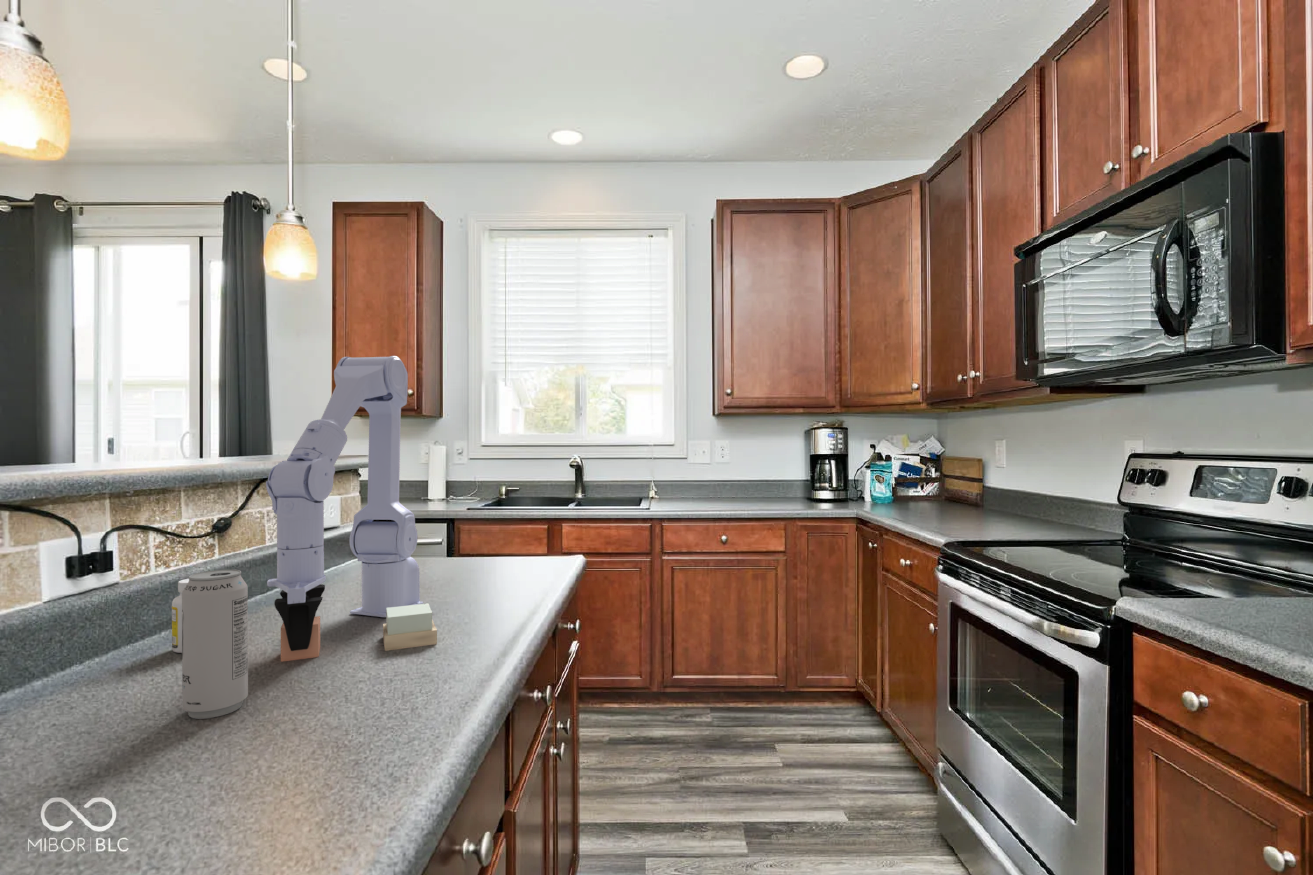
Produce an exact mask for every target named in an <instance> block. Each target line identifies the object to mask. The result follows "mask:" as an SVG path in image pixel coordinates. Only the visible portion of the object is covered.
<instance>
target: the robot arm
mask: <svg viewBox="0 0 1313 875" xmlns="http://www.w3.org/2000/svg"><path fill="white" fill-rule="evenodd" d="M333 377H334V379H333V380H334V384H335V387H334V389H333V391H332V394H331V397H330V398H329V401H328V402H327V405H326V407H325V409H324V411H323V414H322V416H321V418H320V419H315V420H314V419H313V420H312V421H310V422H309V423H308V425H306V428H305V429H304V431H303V433H302V434H301V436H300V438H299V439H298V441H297V443H296V445H294V448H293V449H292V451H291V452H290V454H289V456H288V457H287V460H282V461H280V462H278V463H277V464H275V465H274V466H273V467H272V468H271V470H270V471H269V473H268V478H267V480H266V481H265V487H266V491H267V493H268V494H267V495H268V496H269V498H270V499H271V505H272V508H271V509H272V511H273V513H274V514H275V515H276V564H277V565H276V570H277V571H276V575H277V576H276V578H270V579H268V580H267V581H266V586H267V587H269V588H270V587H276V588H278V589H280V590H281V591H280V592H279V595H280V598H275V599H274V602H273V603H274V608H275V609H276V611H277V612H278V614H279V616H280V618H281V620H282V624H283V623H284V626H285V630H286V634H287V639H288V643H289V647H290V649H291V651H295V650H303V649H308V647H309V644H310V639H311V634H312V627H313V621H314V617H316V614H317V611H318V609H319V607H320V605H321V602H322V601H323V598H324V597H323V593H324V592H325V591H326V590H325V589H326V585H325V583H326V577H327V576H326V575H325V554H324V553H325V545H324V544H325V536H324V535H325V529H324V527H325V526H324V524H325V523H324V522H325V521H324V520H325V519H324V517H325V516H324V515H325V514H324V510H325V508H324V505H325V504H324V503H325V502H324V501H325V500H326V499H327V498H328V497H329V496H330V494H331V493H332V491H333V487H334V475H335V473H336V467H335V464H336V462H337V461H338V459H339V457H340V455H341V453H342V451H343V450H344V447H345V445H346V444H347V441H348V434H347V432H346V431H345V429H346V427H347V426H348V424H349V423H350V421H351V420H352V419H353V417H354V416H355V414H356V413H357V411H358V410H359V408H360V407H361V408H364V409H365V410H366V412H367V413H368V415H369V417H368V418H369V420H368V421H369V423H368V458H367V459H368V462H367V463H368V464H367V465H368V466H367V468H368V470H367V504H366V505H365V506H364V507H362V508H361V509H360V510H359V511H358V512H356V513H355V514H354V516H353V524H352V529H351V531H350V534H349V548H350V550H351V553H352V554H353V555H354V556H355V557H356V558H357V562H361V607H358V608H355V609H352V610H349V614H351V615H360V616H361V615H362V616H369V617H370V616H371V617H380V618H386V608H389V607H398V606H408V605H418V604H425V603H424V601H421V599H420V597H421V595H420V593H421V591H420V590H421V589H420V588H421V587H420V583H421V580H420V579H421V578H420V574H421V573H420V567H419V564H418V562H417V561H416V559H415V558H414V557H412V556H411V555H412V554H414V552H415V550H416V548H417V545H418V536H419V535H418V530H417V527H416V518H415V514H414V512H412V511H411V509H408V508H407V507H405V506H404V505H403V504H402V503H400V478H401V477H400V474H401V472H400V470H401V469H400V468H401V467H400V466H401V464H400V463H401V461H400V460H401V426H402V425H401V422H402V419H401V418H402V417H401V415H402V414H401V413H402V408H403V407H404V406H406V405H407V404H408V382H409V381H408V380H409V375H408V370H407V368H406V365H405V364H404V362H403V361H402V359H401V358H400V357H399V356H397V355H391V356H374V357H372V356H371V357H370V356H366V357H364V356H363V357H352V356H351V357H350V356H343V357H342V358H340V359H339V360H338V362H337V364H336V367H335V369H334V370H333ZM374 520H376V521H374ZM379 520H386V521H379ZM388 520H389V521H388ZM390 520H391V521H390Z"/></svg>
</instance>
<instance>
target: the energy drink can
mask: <svg viewBox="0 0 1313 875" xmlns="http://www.w3.org/2000/svg"><path fill="white" fill-rule="evenodd" d="M241 574H242V571H241V570H239V569H217V570H207V571H202V572H201V571H200V572H196V573H193V574H190V575H189V576H188V579H189V582H188V584H187V585H186V587H185V588H184V590H183V592H182V653H181V659H182V660H181V672H182V673H181V678H182V680H181V682H182V683H181V690H182V691H181V692H182V694H181V699H182V700H181V705H182V706H181V707H182V710H184V711H185V712H187V713H188V717H190V718H192V719H197V720H198V719H199V720H201V719H205V720H206V719H212V718H217V717H222V716H224V715H228V714H231V713H234V712H235V711H237V710H239V709H240V708H241V707H242V706H243V701H244V700H246V698H247V697H248V696H249V650H248V649H249V637H248V636H249V629H248V628H249V627H248V626H249V623H248V621H249V620H248V619H249V617H248V615H249V614H248V613H249V612H248V610H249V608H248V607H249V606H248V602H249V600H248V596H249V594H248V593H249V592H248V590H249V589H248V584H247V583H246V581H245V580H244V579H243V577H242V575H241Z"/></svg>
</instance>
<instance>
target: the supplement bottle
mask: <svg viewBox="0 0 1313 875" xmlns="http://www.w3.org/2000/svg"><path fill="white" fill-rule="evenodd" d="M188 582H189V578H186V579H182V580H179V581H177V592H178V593H179V595H178V596H176V597H175V598H173V599H172V601H171V650H172V652H174V653H178V654H182V592H183V590H184V588H185V587H186V585H187V584H188Z"/></svg>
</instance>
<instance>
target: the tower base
mask: <svg viewBox="0 0 1313 875" xmlns="http://www.w3.org/2000/svg"><path fill="white" fill-rule="evenodd" d="M382 638H383V645H384V646H383V647H384V651H385V652H388V651H396V650H402V649H410V648H415V647H416V648H418V647H425V646H432V645H437V644H438V629H437V627H436V625H435V623H434V620H433V619H432V630H427V631H418V632H410V633H402V634H394V635H388V632H387V625H386V623H383V624H382Z"/></svg>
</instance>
